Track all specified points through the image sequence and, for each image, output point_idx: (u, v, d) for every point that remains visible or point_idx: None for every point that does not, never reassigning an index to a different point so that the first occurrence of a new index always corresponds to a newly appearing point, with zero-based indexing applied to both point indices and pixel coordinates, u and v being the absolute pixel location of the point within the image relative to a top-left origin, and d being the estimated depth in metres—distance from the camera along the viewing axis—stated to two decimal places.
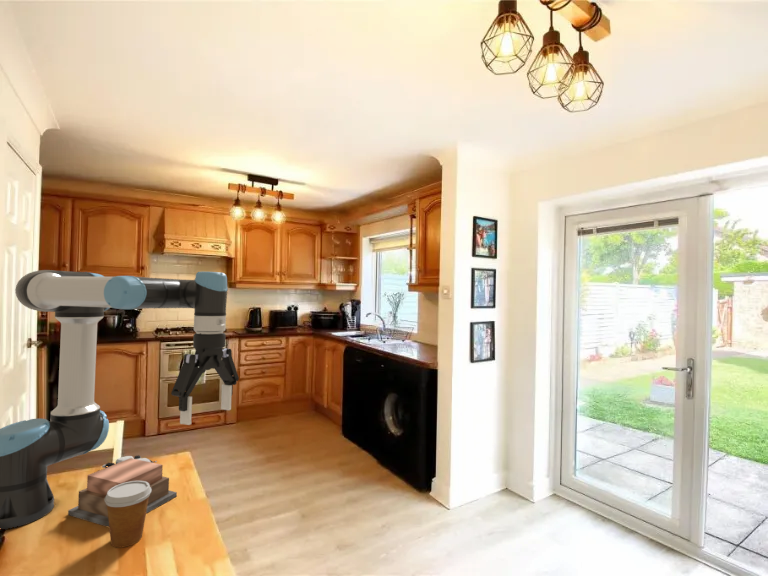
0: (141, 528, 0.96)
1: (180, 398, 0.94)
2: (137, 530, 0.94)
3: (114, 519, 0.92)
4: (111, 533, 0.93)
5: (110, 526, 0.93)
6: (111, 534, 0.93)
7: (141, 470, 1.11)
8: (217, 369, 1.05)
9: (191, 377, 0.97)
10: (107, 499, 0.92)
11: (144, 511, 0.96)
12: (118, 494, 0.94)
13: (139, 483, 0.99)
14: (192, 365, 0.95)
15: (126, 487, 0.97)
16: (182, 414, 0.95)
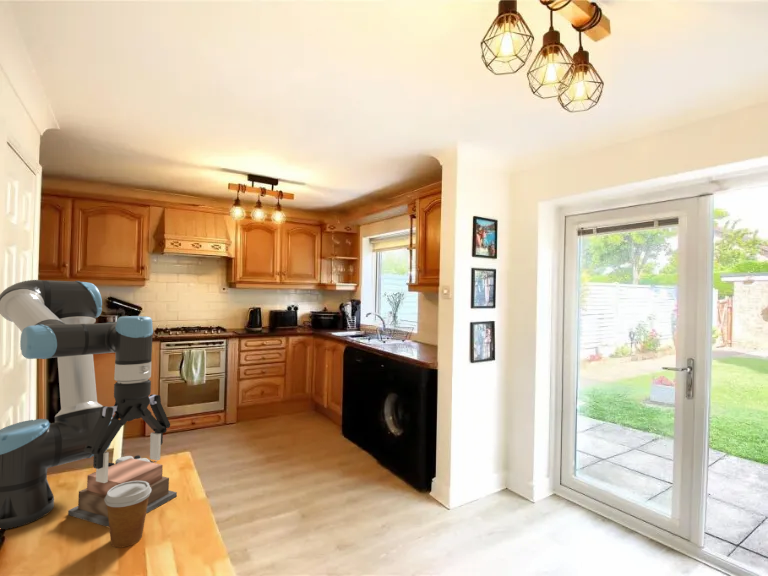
0: (141, 528, 0.96)
1: (95, 455, 0.88)
2: (137, 530, 0.94)
3: (114, 519, 0.92)
4: (111, 533, 0.93)
5: (110, 526, 0.93)
6: (111, 534, 0.93)
7: (141, 470, 1.11)
8: (143, 418, 1.00)
9: (109, 431, 0.91)
10: (107, 499, 0.92)
11: (144, 511, 0.96)
12: (117, 494, 0.94)
13: (139, 483, 0.99)
14: (109, 418, 0.90)
15: (125, 487, 0.97)
16: (98, 471, 0.89)
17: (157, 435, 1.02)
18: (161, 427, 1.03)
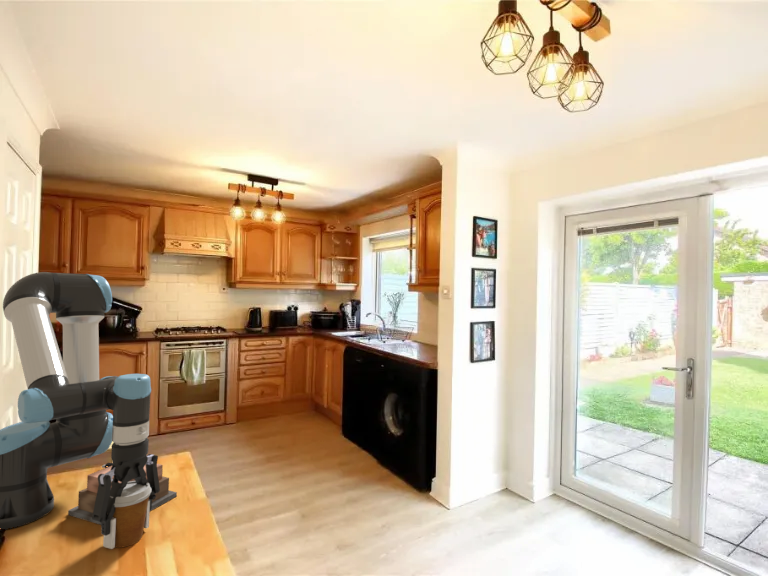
0: (141, 528, 0.96)
1: (102, 522, 0.90)
2: (137, 530, 0.94)
3: None
4: None
5: None
6: None
7: None
8: (137, 479, 0.98)
9: (111, 496, 0.92)
10: None
11: (144, 511, 0.96)
12: None
13: None
14: (108, 486, 0.90)
15: (126, 487, 0.97)
16: (105, 536, 0.91)
17: None
18: (151, 493, 1.00)
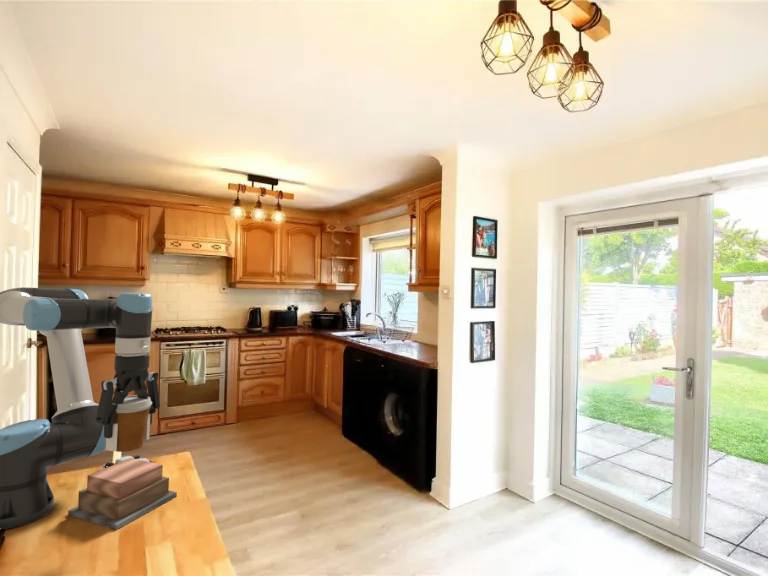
0: (142, 437, 1.01)
1: (105, 425, 0.96)
2: (137, 438, 1.00)
3: None
4: None
5: None
6: None
7: (141, 470, 1.11)
8: (138, 393, 1.04)
9: (114, 403, 0.97)
10: None
11: (145, 421, 1.01)
12: None
13: None
14: (111, 392, 0.95)
15: (128, 399, 1.03)
16: (108, 440, 0.97)
17: None
18: (151, 407, 1.06)
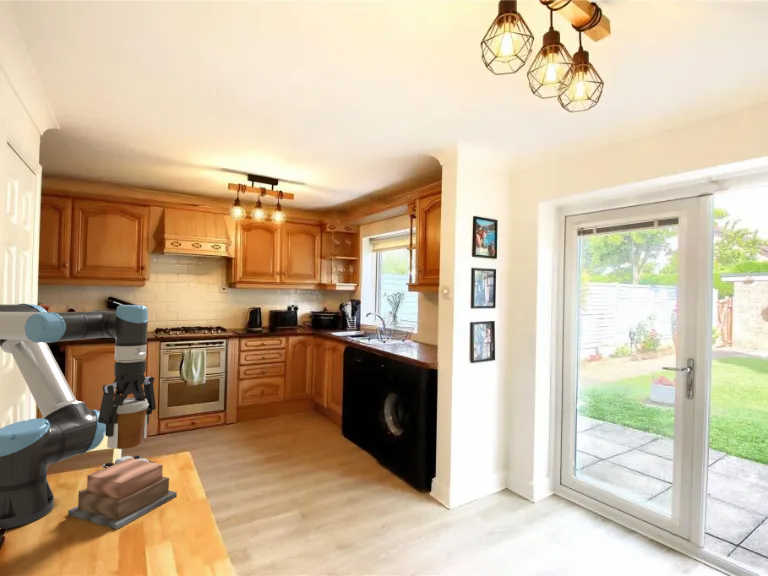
0: (140, 435, 1.11)
1: (106, 425, 1.06)
2: (136, 436, 1.10)
3: None
4: None
5: None
6: None
7: (141, 470, 1.11)
8: (136, 396, 1.14)
9: None
10: None
11: (142, 421, 1.12)
12: None
13: None
14: (112, 394, 1.06)
15: (126, 401, 1.13)
16: (109, 439, 1.07)
17: None
18: (148, 408, 1.16)
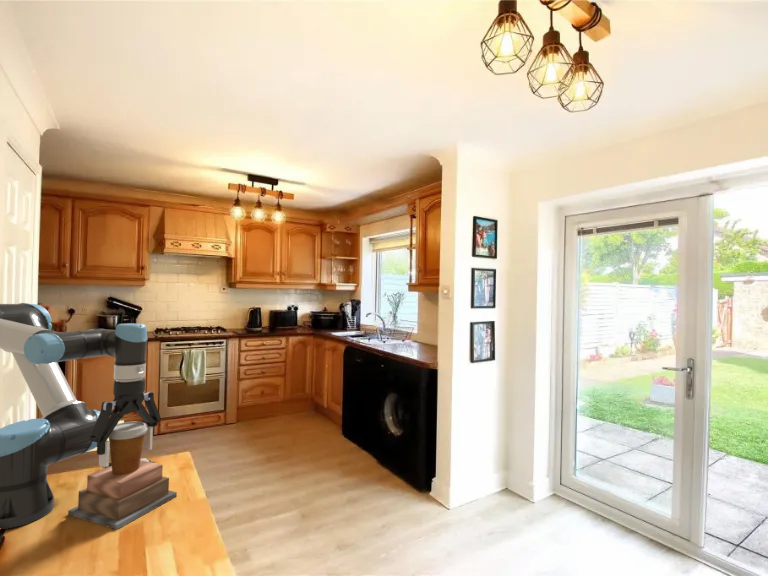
0: (138, 460, 1.11)
1: (98, 443, 1.04)
2: (134, 461, 1.10)
3: (116, 449, 1.07)
4: (112, 462, 1.08)
5: (112, 456, 1.08)
6: (112, 463, 1.08)
7: (141, 470, 1.11)
8: (138, 412, 1.15)
9: (109, 423, 1.07)
10: None
11: (141, 445, 1.12)
12: (118, 430, 1.09)
13: (136, 423, 1.15)
14: (109, 412, 1.05)
15: (125, 425, 1.13)
16: (101, 457, 1.05)
17: (149, 428, 1.17)
18: (153, 421, 1.18)
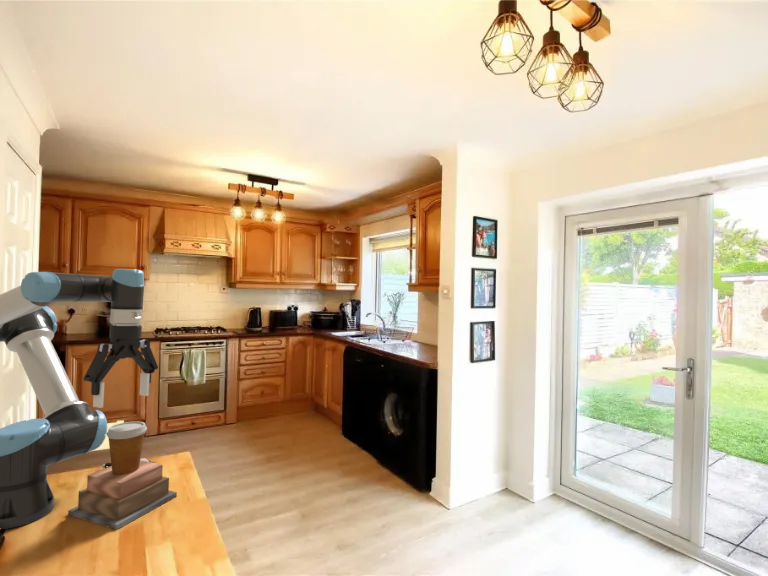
0: (138, 460, 1.11)
1: (92, 383, 1.04)
2: (134, 461, 1.10)
3: (116, 449, 1.08)
4: (112, 462, 1.08)
5: (111, 456, 1.08)
6: (112, 463, 1.08)
7: (141, 470, 1.11)
8: (134, 358, 1.15)
9: (105, 365, 1.06)
10: (109, 433, 1.08)
11: (141, 445, 1.12)
12: (118, 429, 1.09)
13: (136, 423, 1.15)
14: (105, 353, 1.05)
15: (124, 425, 1.13)
16: (95, 398, 1.05)
17: (146, 374, 1.17)
18: (150, 368, 1.18)
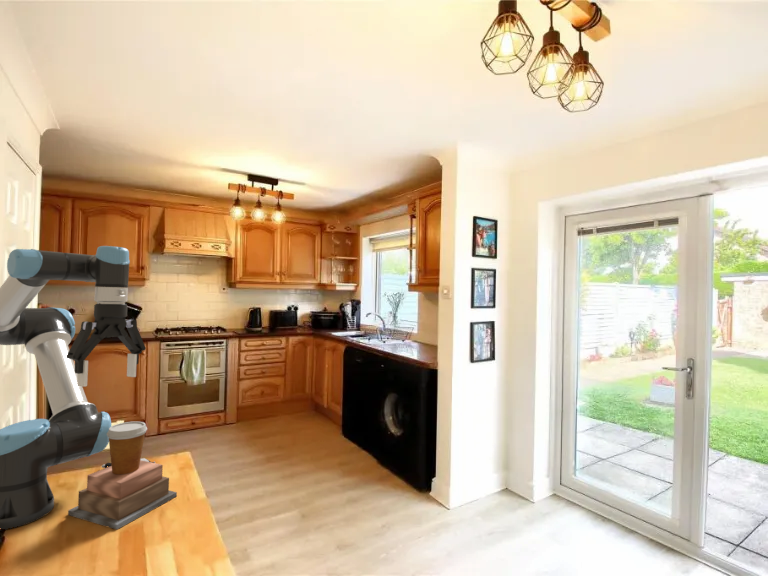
0: (138, 460, 1.11)
1: (76, 361, 1.02)
2: (135, 461, 1.10)
3: (116, 449, 1.07)
4: (112, 462, 1.08)
5: (112, 456, 1.08)
6: (112, 463, 1.08)
7: (141, 470, 1.11)
8: (121, 338, 1.13)
9: (89, 343, 1.04)
10: (109, 433, 1.08)
11: (141, 445, 1.12)
12: (118, 430, 1.09)
13: (136, 423, 1.15)
14: (88, 331, 1.03)
15: (124, 425, 1.13)
16: (79, 376, 1.03)
17: (133, 355, 1.15)
18: (137, 348, 1.16)
